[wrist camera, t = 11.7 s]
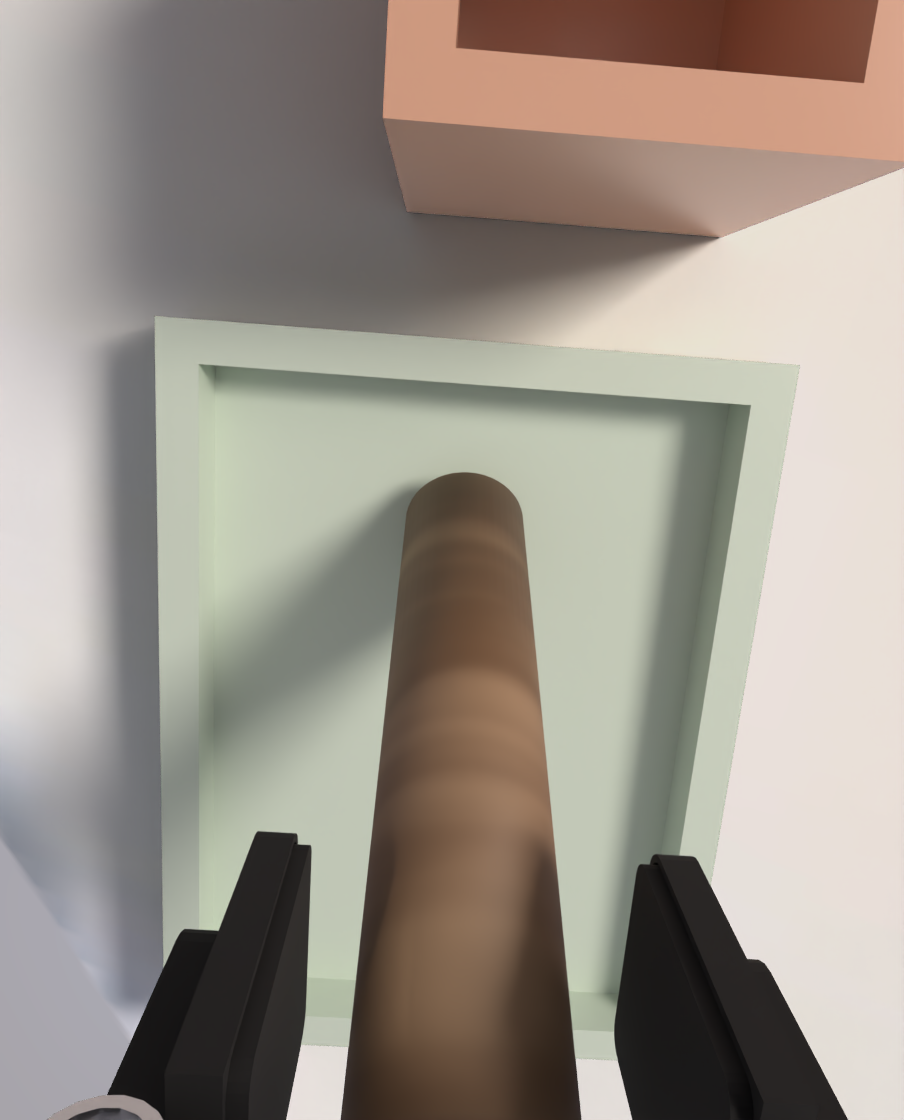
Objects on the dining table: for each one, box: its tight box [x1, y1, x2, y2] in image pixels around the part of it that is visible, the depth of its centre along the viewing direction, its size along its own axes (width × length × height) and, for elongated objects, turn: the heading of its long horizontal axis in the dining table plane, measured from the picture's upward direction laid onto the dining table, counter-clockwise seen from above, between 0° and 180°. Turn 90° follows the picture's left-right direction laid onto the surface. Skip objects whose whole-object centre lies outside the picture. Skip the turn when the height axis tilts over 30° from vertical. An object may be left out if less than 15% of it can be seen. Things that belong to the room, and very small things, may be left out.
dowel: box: [341, 472, 581, 1120], centre depth 16 cm, size 8×3×14 cm, turn 176°
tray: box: [154, 316, 800, 1061], centre depth 23 cm, size 20×15×2 cm
